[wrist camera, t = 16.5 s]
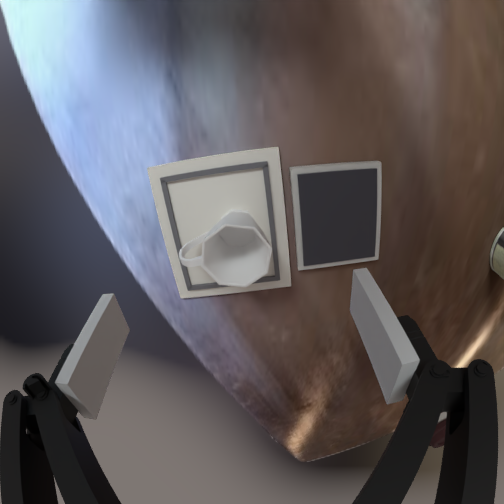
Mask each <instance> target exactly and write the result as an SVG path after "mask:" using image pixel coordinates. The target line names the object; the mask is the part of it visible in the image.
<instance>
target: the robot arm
mask: <svg viewBox="0 0 504 504" xmlns="http://www.w3.org/2000/svg"><path fill="white" fill-rule="evenodd" d="M350 312H351V314H352V317H353V319H354V322H355V324H356V326H357V329H358V331H359V333H360V336H361V338H362V341H363V343H364V346H365V348H366V351H367V353H368V356H369V358H370V361H371V363H372V366H373V368H374V371H375V374H376V376H377V379H378V381H379V384H380V387H381V389H382V392H383V395H384V398H385V400H386V403H387V404H391V403H395V402H398V401H402V400H403V398H404V396H405V394H407V396H408V398H409V401H408V403H407V405H406V407H405V409H404V411H403V414H402V417H401V419H400V421H399V423H398V425H397V427H396V429H395V431H394V433H393V435H392V437H391V439H390V441H389V443H388V445H387V447H386V449H385V451H384V453H383V454H382V456H381V458H380V460H379V461H378V463H377V465H376V467H375V468H374V470H373V472H372V474H371V475H370V477H369V478H368V480H367V482H366V483H365V485H364V486H363V488H362V490H361V491H360V493H359V495H358V496H357V497H356V499H355V500H354V502H353V503H352V504H401V503H402V501H403V499H404V497H405V495H406V494H407V492H408V490H409V488H410V486H411V484H412V482H413V480H414V478H415V476H416V473H417V472H418V469H419V467H420V465H421V463H422V461H423V458H424V456H425V454H426V451H427V449H428V446H429V444H430V442H431V439H432V436H433V434H434V431H435V428H436V426H437V423H438V420H439V417H440V414H441V412H447V416H446V430H445V441H444V450H443V458H442V465H441V472H440V478H439V483H438V489H437V494H436V499H435V503H434V504H494V498H495V489H496V478H497V462H498V418H497V401H496V390H495V380H494V372H493V369H492V366H491V365H490V364H489V363H488V362H486V361H485V360H481V359H477V360H474V361H472V362H471V363H470V364H469V366H468V368H451V367H450V366H449V365H448V364H447V363H446V362H444V361H442V360H438V359H437V357H436V356H435V354H434V352H433V350H432V349H431V347H430V345H429V344H428V342H427V340H426V338H425V337H424V335H423V333H422V332H421V331H420V329H419V327H418V325H417V324H416V322H415V321H414V320H413V319H411V318H410V317H409V316H407V315H406V316H401V317H396V316H395V314H394V312H393V310H392V309H391V307H390V305H389V304H388V302H387V300H386V299H385V297H384V295H383V294H382V292H381V290H380V289H379V287H378V285H377V284H376V282H375V280H374V279H373V277H372V276H371V274H370V272H369V271H368V269H367V268H361V269H354V270H353V279H352V291H351V302H350ZM128 333H129V327H128V325H127V323H126V321H125V319H124V316H123V314H122V312H121V309H120V307H119V305H118V302H117V300H116V298H115V295H114V294H103V295H102V297H101V298H100V300H99V302H98V303H97V305H96V307H95V308H94V310H93V312H92V314H91V315H90V317H89V319H88V321H87V322H86V324H85V326H84V328H83V329H82V331H81V333H80V335H79V337H78V339H77V341H76V342H75V344H71V345H70V346H69V347H68V348H67V349H66V350H65V351H64V353H63V355H62V356H61V359H60V360H59V362H58V365H57V366H56V368H55V370H54V372H53V374H52V376H51V378H50V380H49V382H47V381H46V380H45V378H44V377H43V376H42V375H41V374H39V373H35V374H32V375H30V376H29V377H27V379H26V380H25V381H24V384H23V390H24V391H25V392H26V393H27V394H28V396H23V395H22V394H21V393H20V392H19V391H18V390H13V391H11V392H9V393H8V394H7V395H6V397H5V399H4V402H3V412H2V422H1V438H0V484H1V499H2V504H58V500H57V494H56V489H55V482H54V477H55V480H56V482H57V485H58V487H59V490H60V492H61V495H62V497H63V500H64V502H65V504H121V502H120V501H119V499H118V497H117V496H116V494H115V492H114V491H113V489H112V487H111V486H110V484H109V482H108V480H107V478H106V476H105V474H104V472H103V471H102V469H101V467H100V465H99V463H98V461H97V459H96V457H95V455H94V453H93V451H92V449H91V446H90V444H89V442H88V440H87V437H86V435H85V433H84V431H83V428H82V426H81V424H80V421H79V419H78V418H77V417H76V415H77V413H78V411H79V413H80V414H81V415H82V416H83V417H84V418H89V419H97V416H98V413H99V410H100V407H101V404H102V401H103V398H104V396H105V393H106V390H107V387H108V385H109V382H110V379H111V376H112V374H113V371H114V368H115V366H116V363H117V361H118V358H119V355H120V353H121V350H122V348H123V345H124V343H125V340H126V338H127V335H128ZM26 429H27V434H26Z"/></svg>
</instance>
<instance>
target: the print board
mask: <svg viewBox="0 0 504 504" xmlns="http://www.w3.org/2000/svg"><path fill="white" fill-rule="evenodd" d="M147 170H148V175H149V179H150V184H151V188H152V193H153V197H154V201H155V205H156V210H157V214H158V218H159V222H160V226H161V230H162V234H163V237H164V241H165V245H166V249H167V252H168V256H169V260H170V263H171V267H172V270H173V274H174V277H175V280H176V284H177V287H178V291H179V294H180V297H181V299H182V298H192V297H202V296H212V295H221V294H231V293H240V292H248V291H257V290H265V289H273V288H281V287H289V286H291V275H290V262H289V249H288V237H287V226H286V215H285V205H284V194H283V184H282V175H281V165H280V156H279V147H270V148H261V149H253V150H245V151H238V152H231V153H224V154H218V155H211V156H205V157H199V158H193V159H188V160H182V161H177V162H172V163H167V164H162V165H157V166H152V167H148V168H147ZM232 209H239V210H247V211H248V212H249V213H250V214H251V216H252V217H253V218H254V219H255V221H256V223H257V224H258V226H259V227H260V228H261V229H262V231H263V232H264V234H265V236H266V238H267V240H268V242H269V243H270V245H271V247H272V253H271V259H270V264H269V269H268V273H267V274H266V275H264V276H263V277H261V278H260V279H258V280H257V281H255V282H254V283H252V284H251V285H249V286H247V287H236V286H227V285H219V284H218V283H217V282H216V281H215V280H214V279H213V278H212V277H211V276H210V275H209V274H208V273H207V272H206V271H205V270H204V269H203V268H202V267H201V265H200V266H195V267H186V266H184V265H182V263H181V261H180V258H179V251H180V249H181V248H182V247H183V246H184V245H185V244H186V243H188V242H189V241H191V240H193V239H195V238H196V237H198V236H200V235H202V234H204V233H206V232H208V231H210V230H211V229H212V227H213V226H214V225H215V224H216V223H217V222H219V221H220V220H221V217H222V216H224V215H225V214H226V213H228V212H229V211H230V210H232ZM201 255H202V243H200V244H198V245H196V246H195V247H193V248H192V249H190V250H189V251H188V252H187V253H186V254H185V255H184V258H185V259H192V258H195V257H198V256H201Z"/></svg>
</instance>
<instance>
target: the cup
mask: <svg viewBox="0 0 504 504" xmlns="http://www.w3.org/2000/svg"><path fill="white" fill-rule="evenodd" d="M200 243H202V255H201V256H198V257H195V258H192V259H185V258H184V255H185V254H186V253H187V252H188V251H189V250H190V249H192V248H193V247H195V246H196V245H198V244H200ZM271 253H272V247H271V245H270V243H269V242H268V240H267V238H266V236H265V234H264V232H263V231H262V229H261V228H260V227H259V226H258V224H257V223H256V221H255V219H254V218H253V217H252V216H251V214H250V213H249V212H248V211H247V210H239V209H232V210H230V211H229V212H228V213H226V214H225V215H224V216H222V217H221V220H220V221H219V222H217V223H216V224H215V225H214V226H213V227H212V229H211V230H210V231H208V232H206V233H204V234H202V235H200V236H198V237H196V238H195V239H193V240H191V241H189V242H188V243H186V244H185V245H184V246H183V247H182V248H181V249H180V251H179V258H180V261H181V263H182V265H184V266H186V267H195V266H200V265H201V267H202V268H203V269H204V270H205V271H206V272H207V273H208V274H209V275H210V276H211V277H212V278H213V279H214V280H215V281H216V282H217V283H218V284H219V285H227V286H236V287H247V286H249V285H251V284H252V283H254V282H255V281H257V280H258V279H260V278H261V277H263V276H264V275H266V274H267V273H268V269H269V264H270V259H271Z"/></svg>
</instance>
